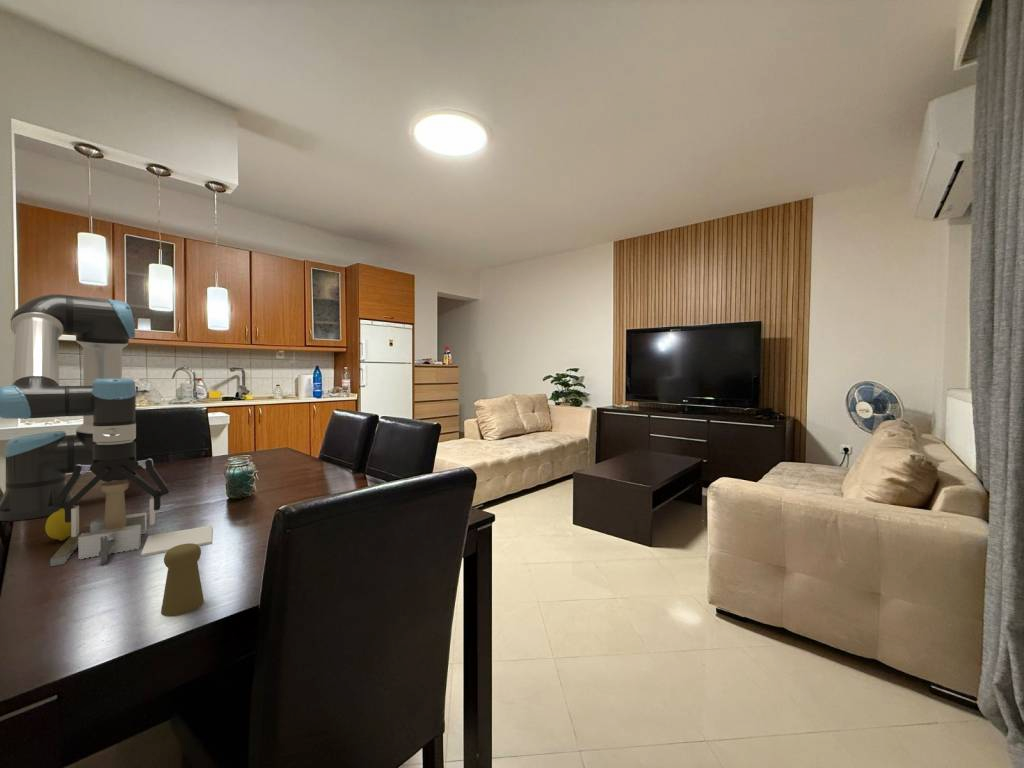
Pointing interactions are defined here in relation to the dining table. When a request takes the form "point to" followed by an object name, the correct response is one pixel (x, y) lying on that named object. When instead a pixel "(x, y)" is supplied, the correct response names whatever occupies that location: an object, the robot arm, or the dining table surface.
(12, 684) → the dining table surface
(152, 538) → the mat
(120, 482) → the handle
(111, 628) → the dining table surface
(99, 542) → the vise
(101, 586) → the dining table surface
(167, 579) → the cork
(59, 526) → the lemon
